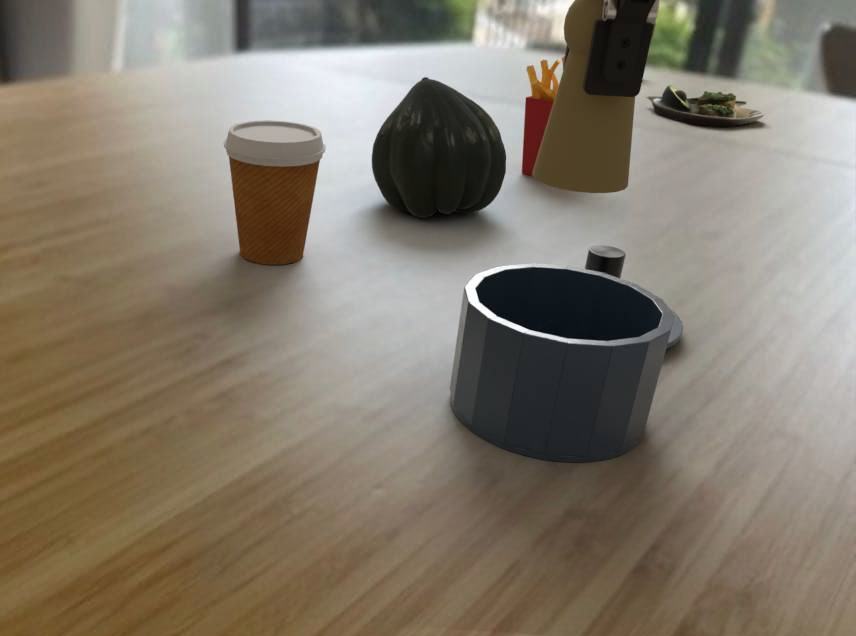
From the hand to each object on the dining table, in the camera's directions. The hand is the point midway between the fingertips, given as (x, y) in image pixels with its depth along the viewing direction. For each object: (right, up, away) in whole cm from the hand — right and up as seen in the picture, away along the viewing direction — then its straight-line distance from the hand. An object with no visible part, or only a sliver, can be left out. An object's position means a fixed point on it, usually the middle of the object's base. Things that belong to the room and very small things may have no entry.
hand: (598, 82), depth 55 cm
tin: (-1, -20, +9) cm, 22 cm away
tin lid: (+7, -12, +23) cm, 27 cm away
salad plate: (+52, +30, +106) cm, 122 cm away
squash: (-4, +2, +50) cm, 50 cm away
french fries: (+14, +11, +67) cm, 69 cm away
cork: (0, -5, +3) cm, 6 cm away
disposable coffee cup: (-22, -5, +34) cm, 41 cm away
